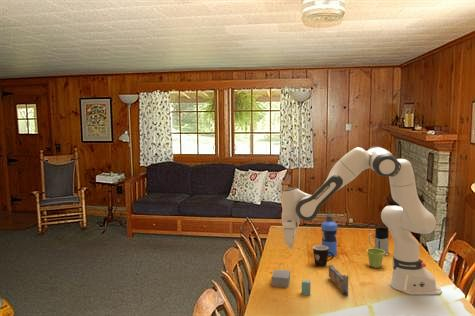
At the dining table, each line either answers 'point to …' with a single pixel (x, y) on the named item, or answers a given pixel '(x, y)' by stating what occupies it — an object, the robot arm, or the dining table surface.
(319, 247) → the coffee mug
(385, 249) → the lidded pitcher
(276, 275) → the rubber block
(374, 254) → the plant pot
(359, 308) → the dining table surface
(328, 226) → the water bottle
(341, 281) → the gate
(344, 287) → the hinge post
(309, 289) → the grey-green rectangular block
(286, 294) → the dining table surface
